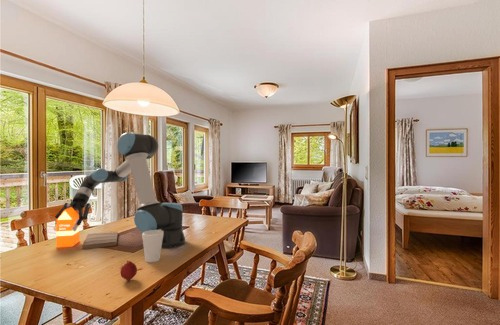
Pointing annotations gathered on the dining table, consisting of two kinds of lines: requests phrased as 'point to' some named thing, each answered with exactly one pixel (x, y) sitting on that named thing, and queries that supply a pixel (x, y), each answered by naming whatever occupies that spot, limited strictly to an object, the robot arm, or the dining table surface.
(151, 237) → the foam cup
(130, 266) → the onion
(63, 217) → the orange juice
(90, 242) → the walnut board
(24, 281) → the dining table surface
